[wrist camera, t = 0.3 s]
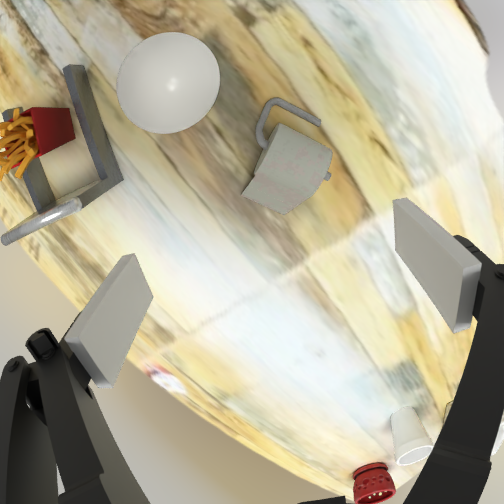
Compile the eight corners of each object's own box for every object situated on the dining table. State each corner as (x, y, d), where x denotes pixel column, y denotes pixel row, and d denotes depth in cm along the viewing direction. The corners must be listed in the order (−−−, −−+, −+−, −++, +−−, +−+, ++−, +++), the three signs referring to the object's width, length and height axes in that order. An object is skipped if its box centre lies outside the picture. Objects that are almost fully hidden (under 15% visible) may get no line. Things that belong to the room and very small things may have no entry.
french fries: (73, 100, 37) (5, 109, 24) (84, 152, 41) (21, 179, 28) (31, 119, 38) (-36, 136, 25) (42, 167, 42) (-21, 198, 29)
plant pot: (394, 465, 81) (401, 494, 70) (360, 479, 85) (364, 508, 74) (380, 455, 77) (387, 488, 66) (343, 471, 81) (347, 503, 70)
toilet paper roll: (224, 188, 43) (244, 150, 32) (252, 127, 46) (278, 80, 34) (293, 219, 45) (333, 194, 34) (314, 158, 48) (354, 121, 36)
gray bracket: (17, 110, 37) (-42, 123, 25) (83, 65, 35) (25, 62, 23) (54, 211, 45) (4, 247, 33) (123, 180, 43) (77, 212, 31)
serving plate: (107, 59, 35) (104, 58, 34) (202, 18, 33) (201, 16, 32) (137, 147, 41) (135, 148, 40) (234, 112, 39) (233, 113, 38)
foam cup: (393, 428, 69) (404, 468, 58) (378, 417, 67) (389, 460, 55) (424, 410, 66) (439, 450, 55) (411, 397, 63) (427, 441, 52)
